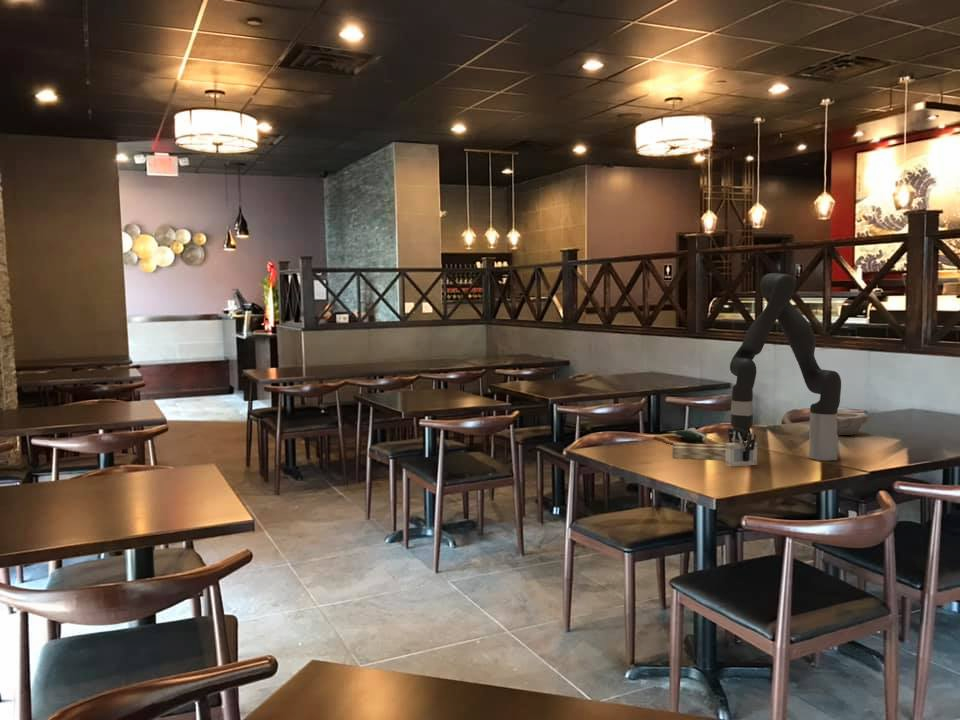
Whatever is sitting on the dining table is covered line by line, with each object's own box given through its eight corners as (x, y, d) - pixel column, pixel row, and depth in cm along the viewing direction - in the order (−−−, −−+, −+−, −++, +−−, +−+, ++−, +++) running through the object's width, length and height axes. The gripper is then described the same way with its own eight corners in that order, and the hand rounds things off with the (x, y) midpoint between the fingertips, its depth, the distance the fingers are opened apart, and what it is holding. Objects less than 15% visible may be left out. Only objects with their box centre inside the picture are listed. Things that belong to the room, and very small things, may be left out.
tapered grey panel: (751, 463, 273) (752, 441, 273) (756, 464, 270) (757, 443, 270) (725, 465, 271) (725, 443, 270) (729, 466, 268) (730, 444, 267)
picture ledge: (749, 456, 284) (749, 446, 284) (751, 461, 275) (751, 450, 275) (673, 453, 292) (673, 443, 292) (672, 458, 283) (672, 447, 282)
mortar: (812, 432, 334) (813, 412, 334) (842, 430, 340) (843, 410, 339) (842, 439, 318) (842, 417, 318) (873, 436, 324) (873, 415, 323)
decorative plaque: (734, 430, 301) (694, 434, 293) (733, 448, 302) (694, 453, 294) (684, 420, 329) (646, 423, 321) (684, 436, 330) (646, 440, 322)
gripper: (721, 410, 275) (720, 456, 276) (744, 416, 261) (743, 464, 263) (739, 409, 277) (738, 455, 278) (763, 415, 263) (762, 462, 264)
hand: (741, 459), depth 270 cm, fingers open, 5 cm apart
